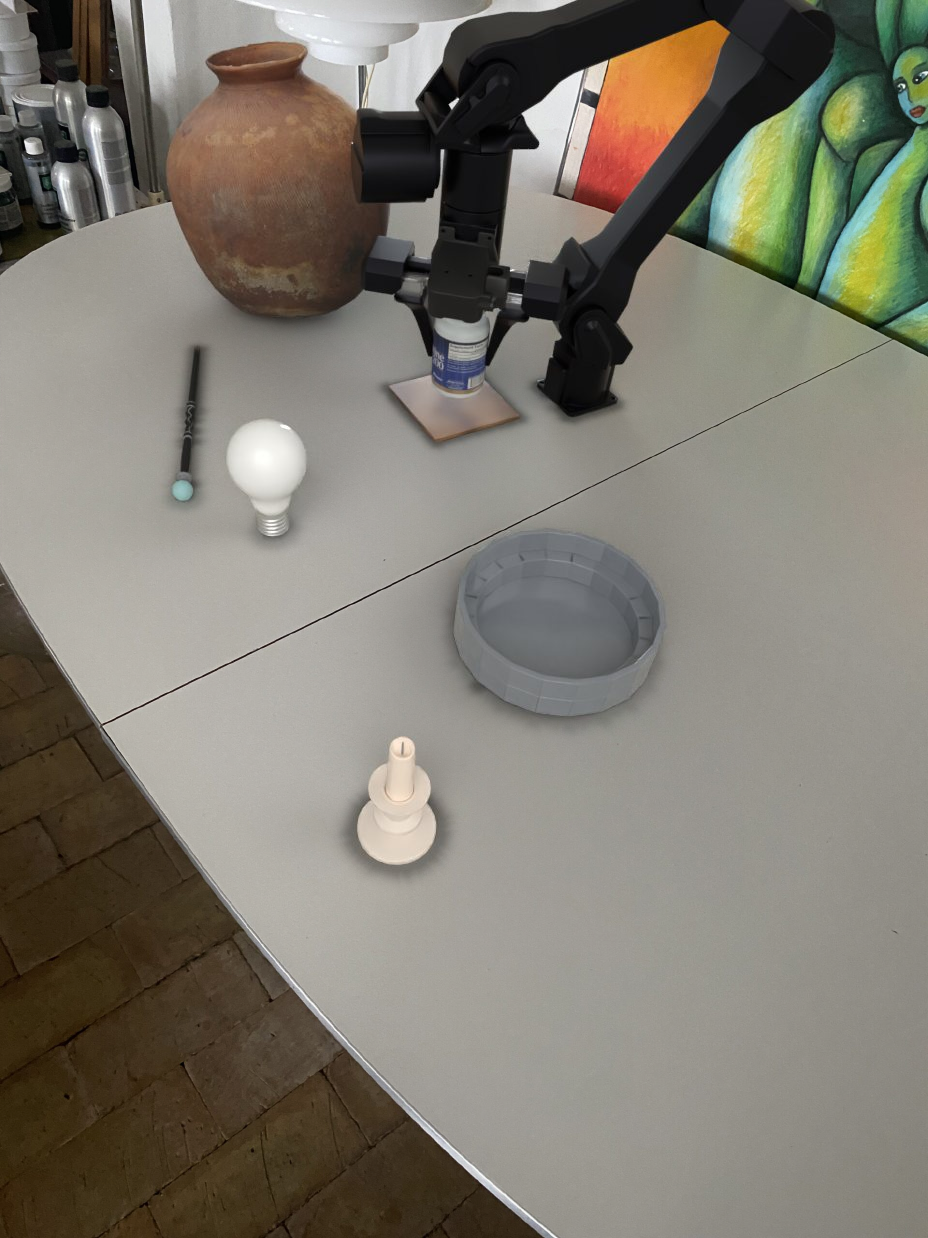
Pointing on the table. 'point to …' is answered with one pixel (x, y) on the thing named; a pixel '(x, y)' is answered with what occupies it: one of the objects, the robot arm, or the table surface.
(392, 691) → the table surface
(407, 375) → the table surface
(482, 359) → the pill bottle
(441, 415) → the coaster
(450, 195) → the robot arm
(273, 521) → the lightbulb
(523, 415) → the table surface
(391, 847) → the candle
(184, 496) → the magic wand
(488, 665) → the basin
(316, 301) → the pottery
